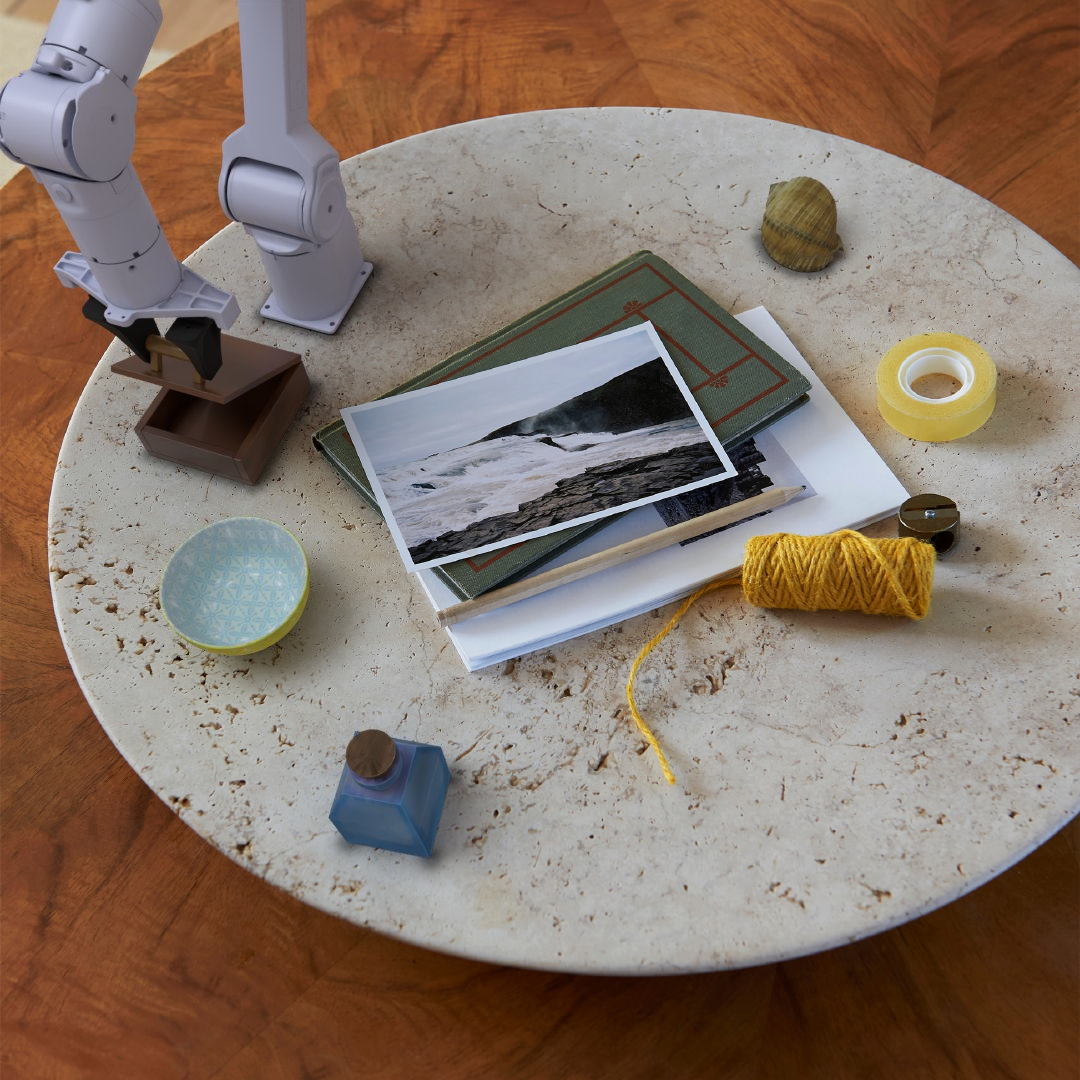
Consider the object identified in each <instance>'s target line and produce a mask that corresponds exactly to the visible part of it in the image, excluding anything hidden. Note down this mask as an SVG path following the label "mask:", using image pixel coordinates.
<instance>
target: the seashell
mask: <svg viewBox="0 0 1080 1080" xmlns="http://www.w3.org/2000/svg"><path fill="white" fill-rule="evenodd" d="M767 196H768V197H767V198H766V202H765V211H764V213H763V216H762V223H761V227H760V230H761V235H760V238H761V240H762V242H761V243H762V246H763V247H764V250H765V252H767V254H768V257H769V258H771V259H772V260H773V261H775V262H776V263H777V264H778V265H781V267H785V268H787V269H790V270H793V271H796V272H801V273H803V272H806V273H809V272H810V273H811V272H819V271H820V270H821V271H823V270H824V269H825V267H827V265H828V264H829V263H830V262H831V261H833V259H834V258H835V256H836V253H837V252H838V251H840V252H845V250H844V244H843V239H842V237H841V235H839V234H838V233H837V222H838V218H837V217H838V212H837V210H838V209H837V204H836V200H835V198H834V196H833V194H832V193H831V191H830V189H829V188H828V187H826V185H825V184H824V183H822V182H821V181H819V180H818V179H815V178H813V177H812V176H811V177H809V176H797V177H793V178H791V179H790V180H788V181H787V180H783V181H780V182H776V183H772V184H770V185H769V190H768V195H767Z"/></svg>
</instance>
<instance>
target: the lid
mask: <svg viewBox="0 0 1080 1080" xmlns="http://www.w3.org/2000/svg"><path fill="white" fill-rule="evenodd" d="M146 349H147V350H148V351H150V360H151V364H149V363H145V362H144V361H142V360H141V359H140V358H139V357H138V356H137V355H136V354H135V353H134V354H133V355H131V356H129V357H127V358H124V359H122V360H120V361H117V362H115V363H113V364H111V365H110V372H111V373H113V374H117V375H120V376H123V377H129V378H131V379H135V380H138V381H141V382H145V383H149V384H153V385H155V386H158V387H161V388H162V387H166V388H169V389H173V390H176V391H180V392H183V393H187V394H190V395H194V396H197V397H201V398H204V399H208V400H211V401H215V402H218V403H222V404H226V403H228V402H229V401H231V400H233V399H235V398H236V397H238V396H240V395H242V394H244V393H245V392H247V391H249V390H251V389H252V388H254V387H256V386H258V385H259V384H261V383H263V382H265V381H266V380H268V379H270V378H272V377H274V376H275V375H277V374H279V373H281V372H282V371H284V370H286V369H288V368H289V367H291V366H293V365H295V364H296V363H298V362H300V361H301V360H302V358H303V357H302V354H301V353H297V352H293V351H290V350H285V349H282V348H279V347H274V346H271V345H267V344H263V343H261V342H255V341H252V340H249V339H245V338H241V337H238V336H234V335H230V334H226V333H223V332H221V353H222V362H223V364H222V366H221V367H220V369H219V370H218V372H217V373H216V375H215V376H214V378H213V379H212V380H211V381H209V380H206V379H203V378H202V377H201V376H200V375H199V374H198V372H197V371H196V369H195V368H194V366H193V364H192V363H191V361H190V359H189V358H188V357H187V355H186V354H185V353H184V352H183V351H182V350H181V349H180V348H179V347H178V346H176V345H175V344H174V343H172V342H170V341H168V340H166V339H165V337H164V336H162V335H161V336H158V335H154V334H151V335H149V336H148V337H147V339H146Z"/></svg>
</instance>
